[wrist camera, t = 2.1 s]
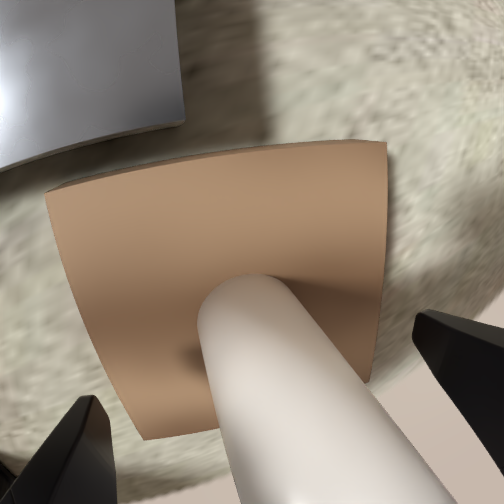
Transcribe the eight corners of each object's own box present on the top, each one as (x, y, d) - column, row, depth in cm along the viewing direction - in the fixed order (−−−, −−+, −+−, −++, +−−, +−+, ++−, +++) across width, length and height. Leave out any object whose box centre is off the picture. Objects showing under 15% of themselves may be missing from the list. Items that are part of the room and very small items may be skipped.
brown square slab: (348, 356, 14) (369, 381, 13) (143, 407, 12) (143, 440, 11) (353, 139, 11) (386, 142, 9) (65, 182, 9) (43, 193, 7)
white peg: (298, 346, 11) (426, 543, 3) (207, 369, 10) (280, 605, 3) (294, 264, 9) (498, 484, 2) (187, 285, 9) (272, 605, 2)
